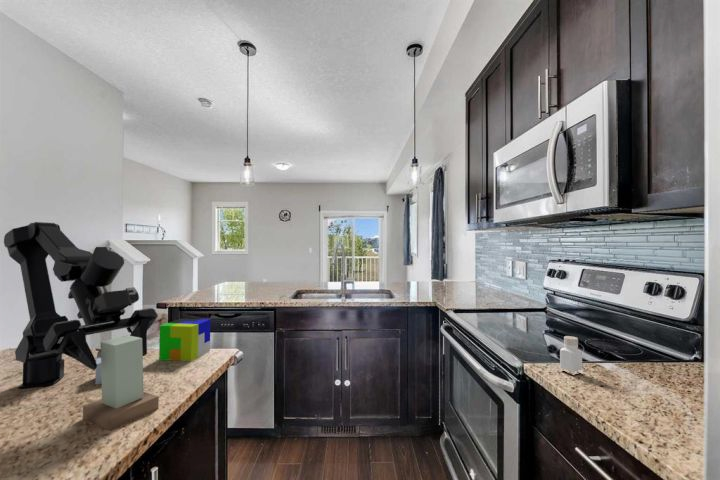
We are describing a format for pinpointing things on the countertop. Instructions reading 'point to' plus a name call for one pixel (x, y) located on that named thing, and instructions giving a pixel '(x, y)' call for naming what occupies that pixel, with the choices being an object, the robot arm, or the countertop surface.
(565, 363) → the salt shaker
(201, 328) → the puzzle toy
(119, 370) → the sage pillar block
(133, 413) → the walnut base block
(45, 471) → the countertop surface
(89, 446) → the countertop surface
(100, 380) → the slate painted cube
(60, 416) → the countertop surface
